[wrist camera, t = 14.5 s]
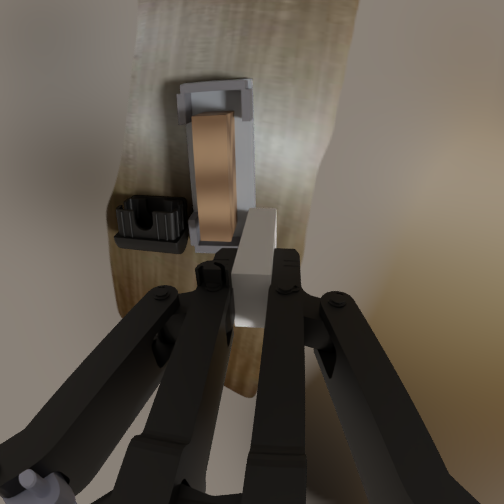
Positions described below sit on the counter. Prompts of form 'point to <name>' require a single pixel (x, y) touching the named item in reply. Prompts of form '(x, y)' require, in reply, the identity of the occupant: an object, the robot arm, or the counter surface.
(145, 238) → the end cap
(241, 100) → the holder
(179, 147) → the counter surface
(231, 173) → the wooden block
